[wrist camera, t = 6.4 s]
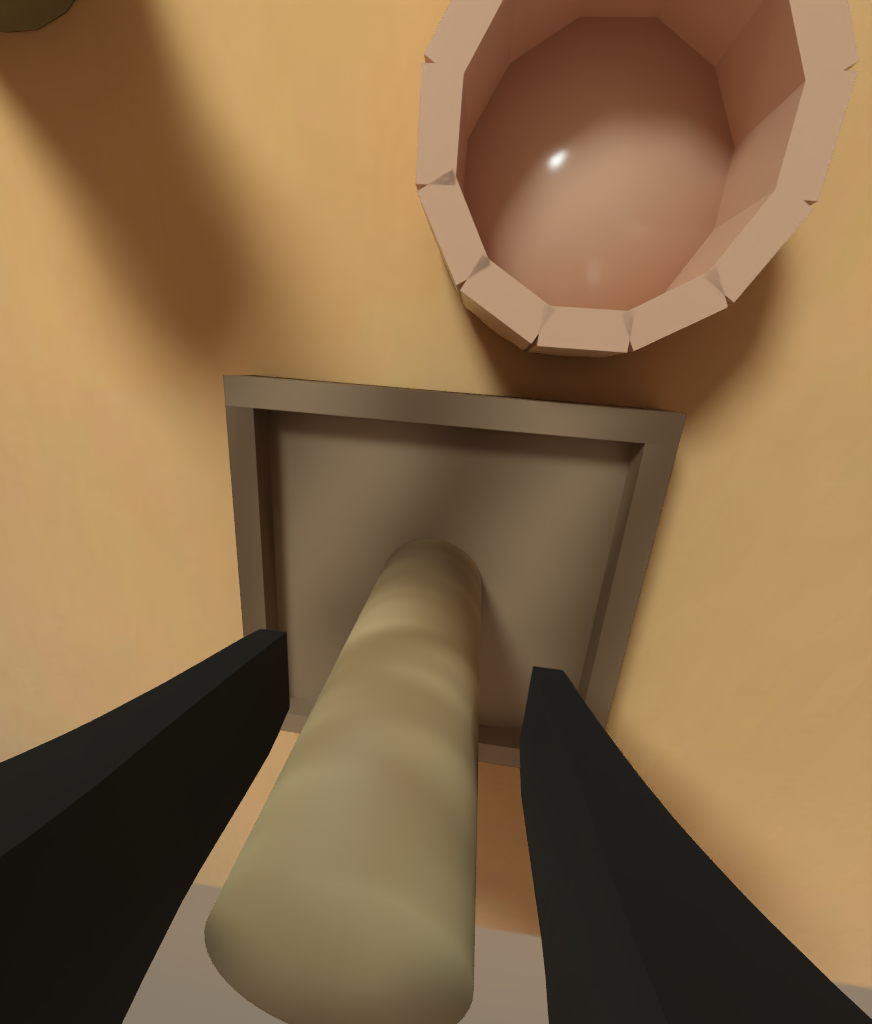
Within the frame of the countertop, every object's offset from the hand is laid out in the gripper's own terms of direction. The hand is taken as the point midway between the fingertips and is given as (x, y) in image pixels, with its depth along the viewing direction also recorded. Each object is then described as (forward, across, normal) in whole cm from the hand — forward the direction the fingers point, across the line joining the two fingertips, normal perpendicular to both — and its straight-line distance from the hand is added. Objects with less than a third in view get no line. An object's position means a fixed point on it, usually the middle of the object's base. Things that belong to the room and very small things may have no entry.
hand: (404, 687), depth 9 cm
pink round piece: (+5, -3, -11) cm, 13 cm away
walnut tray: (+5, 0, 0) cm, 5 cm away
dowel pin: (+5, 0, 0) cm, 5 cm away
